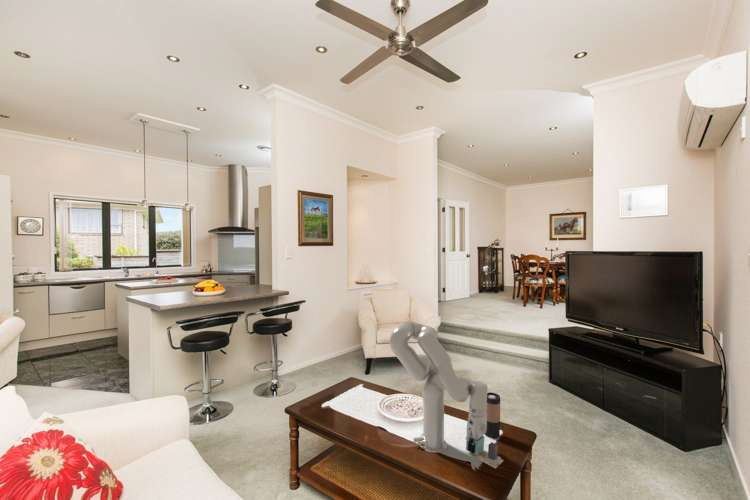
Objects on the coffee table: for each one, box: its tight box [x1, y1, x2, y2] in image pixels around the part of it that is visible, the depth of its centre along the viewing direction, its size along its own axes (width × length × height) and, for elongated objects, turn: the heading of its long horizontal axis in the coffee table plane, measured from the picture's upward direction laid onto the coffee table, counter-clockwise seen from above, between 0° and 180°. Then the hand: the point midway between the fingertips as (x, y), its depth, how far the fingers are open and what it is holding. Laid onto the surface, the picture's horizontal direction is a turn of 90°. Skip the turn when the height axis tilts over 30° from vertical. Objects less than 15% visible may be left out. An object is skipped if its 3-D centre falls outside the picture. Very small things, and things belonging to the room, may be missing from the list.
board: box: [466, 449, 504, 469], centre depth 150 cm, size 8×14×1 cm, turn 43°
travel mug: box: [484, 392, 501, 439], centre depth 166 cm, size 8×8×20 cm
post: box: [485, 441, 502, 466], centre depth 147 cm, size 5×5×7 cm
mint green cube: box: [465, 435, 485, 456], centre depth 153 cm, size 6×6×6 cm
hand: (474, 448), depth 153 cm, fingers closed on mint green cube, 5 cm apart
